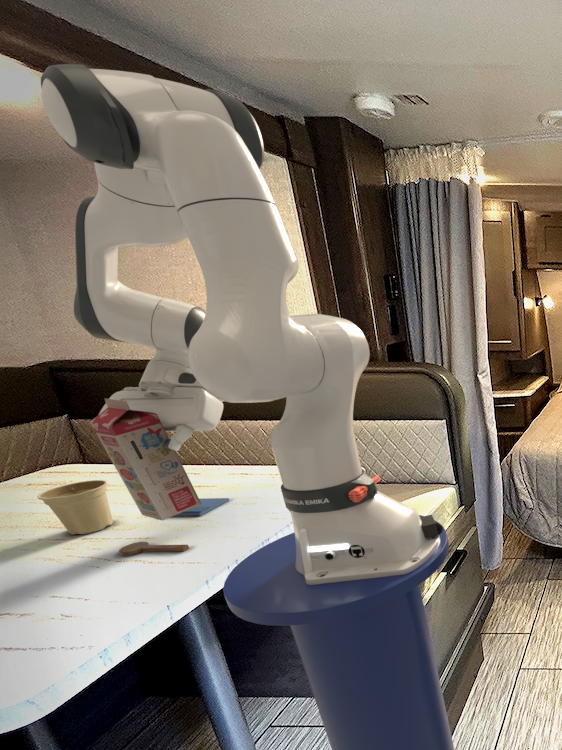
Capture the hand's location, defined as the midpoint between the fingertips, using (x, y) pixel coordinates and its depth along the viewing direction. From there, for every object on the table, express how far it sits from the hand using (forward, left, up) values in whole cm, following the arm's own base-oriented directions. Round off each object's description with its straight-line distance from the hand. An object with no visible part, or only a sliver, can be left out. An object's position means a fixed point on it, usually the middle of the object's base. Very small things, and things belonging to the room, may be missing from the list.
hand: (145, 450), depth 92 cm
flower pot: (+20, -3, -17) cm, 27 cm away
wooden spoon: (-2, +7, -17) cm, 19 cm away
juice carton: (0, -1, -12) cm, 12 cm away
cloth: (+6, -12, -17) cm, 21 cm away
